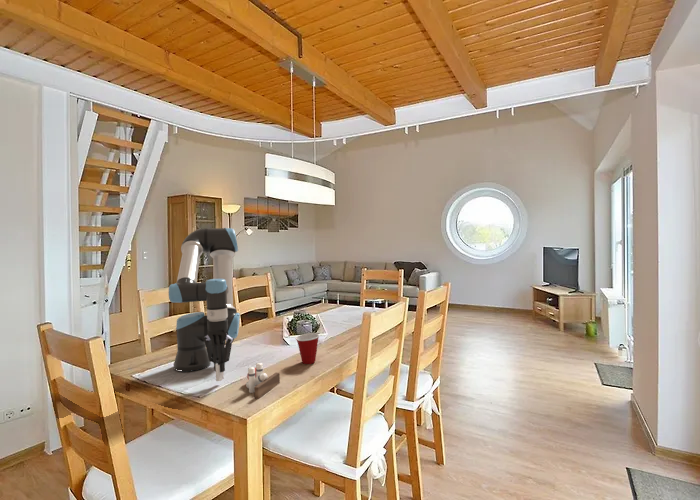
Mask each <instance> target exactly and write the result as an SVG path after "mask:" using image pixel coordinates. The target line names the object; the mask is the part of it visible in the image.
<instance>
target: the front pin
mask: <svg viewBox="0 0 700 500" xmlns="http://www.w3.org/2000/svg"><path fill="white" fill-rule="evenodd" d="M268 377H269V376H268V374H267V373H266V372H263V374H261V375H259V376H257V377H256V378H255V384H258V383H260V382H262V381H264V380H266V379H267V378H268ZM245 386H246V388H247V389H249V380H247V382H246V383H245Z"/></svg>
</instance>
